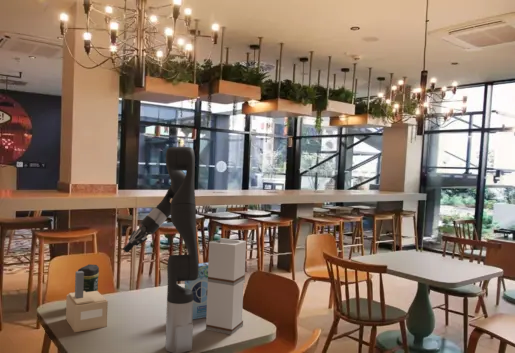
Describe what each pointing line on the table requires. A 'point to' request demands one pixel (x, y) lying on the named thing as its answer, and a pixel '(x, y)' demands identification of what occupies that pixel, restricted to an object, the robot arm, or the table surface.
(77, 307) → the carton
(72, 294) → the flap
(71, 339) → the table surface
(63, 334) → the table surface
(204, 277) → the gum box
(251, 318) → the table surface
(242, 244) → the white square pillar
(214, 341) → the table surface
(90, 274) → the coffee jar
